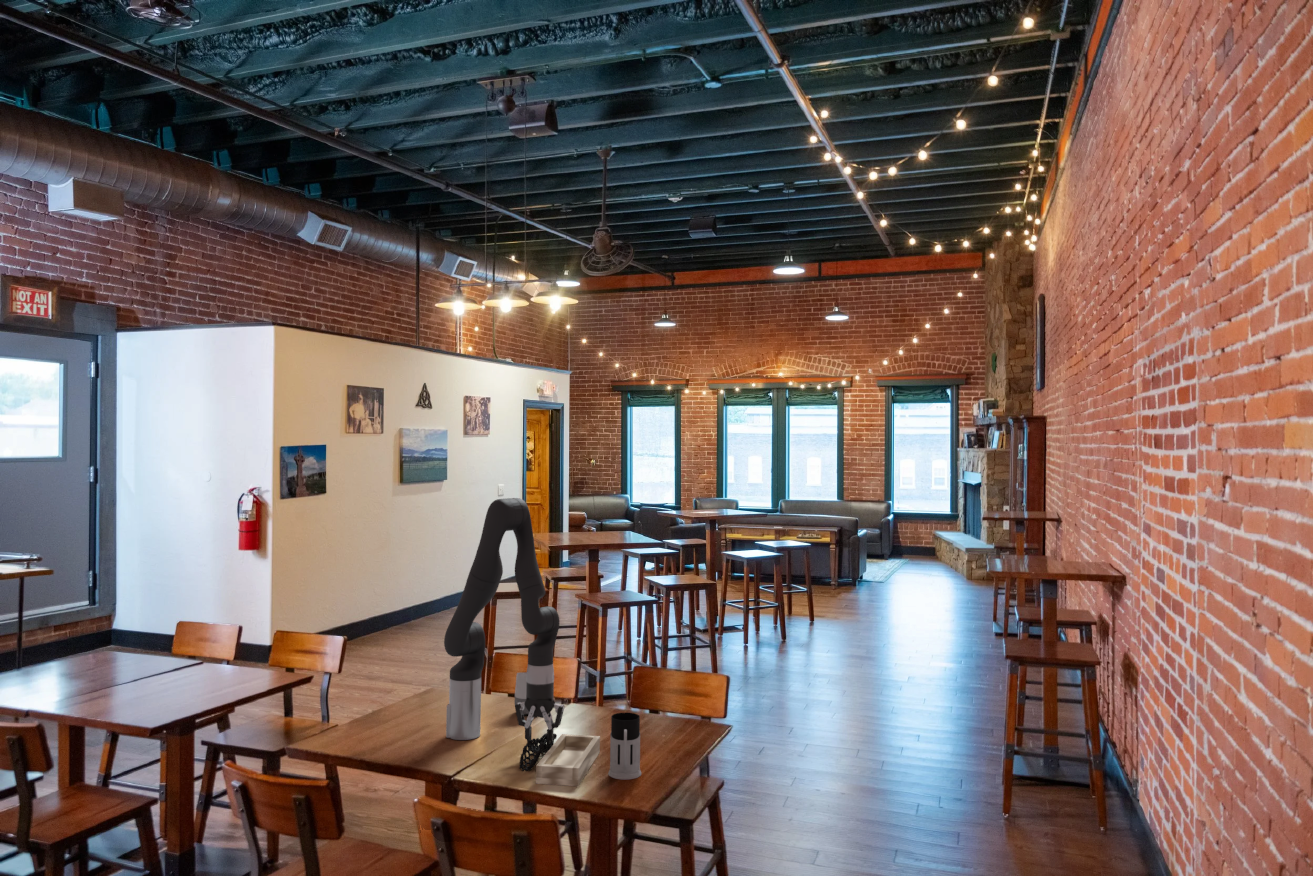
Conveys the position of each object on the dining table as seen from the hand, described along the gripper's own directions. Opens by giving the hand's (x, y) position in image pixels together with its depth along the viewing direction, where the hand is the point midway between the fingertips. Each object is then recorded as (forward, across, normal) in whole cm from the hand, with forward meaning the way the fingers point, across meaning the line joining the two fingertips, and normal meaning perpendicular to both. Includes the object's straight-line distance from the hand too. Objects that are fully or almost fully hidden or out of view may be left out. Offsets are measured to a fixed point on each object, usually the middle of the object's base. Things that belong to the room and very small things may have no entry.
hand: (539, 741), depth 252 cm
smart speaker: (+5, -15, +42) cm, 45 cm away
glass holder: (+5, +26, -11) cm, 29 cm away
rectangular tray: (+4, +10, -6) cm, 13 cm away
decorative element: (+5, 0, 0) cm, 5 cm away
